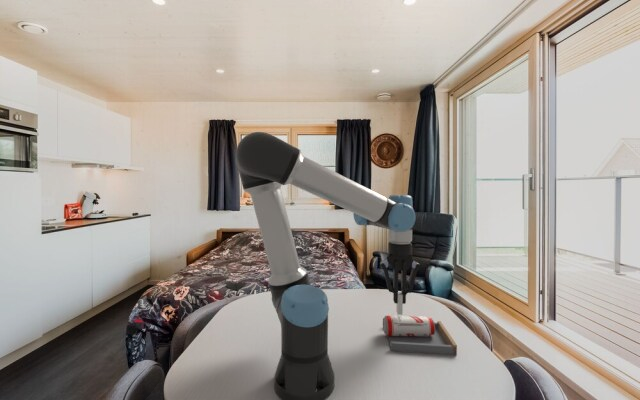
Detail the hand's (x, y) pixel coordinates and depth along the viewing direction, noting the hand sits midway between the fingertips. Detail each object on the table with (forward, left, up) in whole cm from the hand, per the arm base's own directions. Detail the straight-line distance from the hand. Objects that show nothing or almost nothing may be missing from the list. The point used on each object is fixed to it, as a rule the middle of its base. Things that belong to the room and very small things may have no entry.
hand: (399, 312), depth 96 cm
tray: (0, -6, -9) cm, 10 cm away
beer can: (0, +5, -5) cm, 7 cm away
